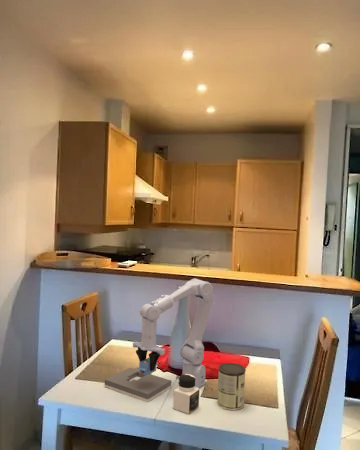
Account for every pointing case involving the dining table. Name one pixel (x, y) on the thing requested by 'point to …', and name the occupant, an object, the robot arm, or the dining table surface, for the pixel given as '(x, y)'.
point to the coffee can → (231, 386)
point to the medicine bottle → (186, 394)
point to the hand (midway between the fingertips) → (147, 368)
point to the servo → (145, 367)
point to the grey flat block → (138, 384)
